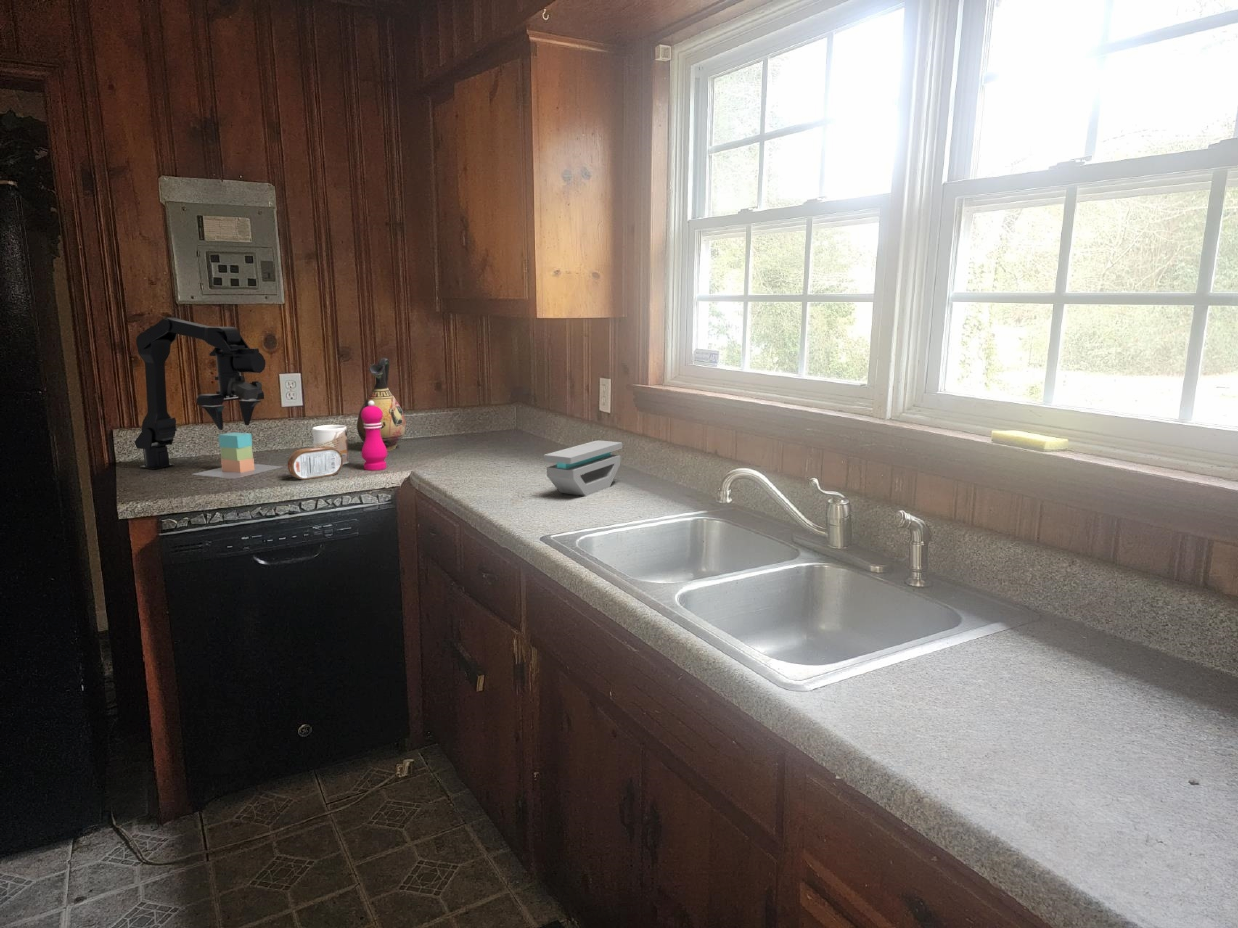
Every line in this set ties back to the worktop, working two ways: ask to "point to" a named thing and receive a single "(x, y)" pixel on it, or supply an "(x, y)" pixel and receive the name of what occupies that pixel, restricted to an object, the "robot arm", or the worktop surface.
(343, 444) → the mug
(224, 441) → the teal brick
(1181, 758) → the worktop surface
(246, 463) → the terracotta brick
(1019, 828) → the worktop surface
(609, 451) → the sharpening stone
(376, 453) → the pepper mill
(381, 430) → the ceramic jug
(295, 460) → the tin
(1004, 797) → the worktop surface
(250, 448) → the olive brick
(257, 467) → the baseplate
